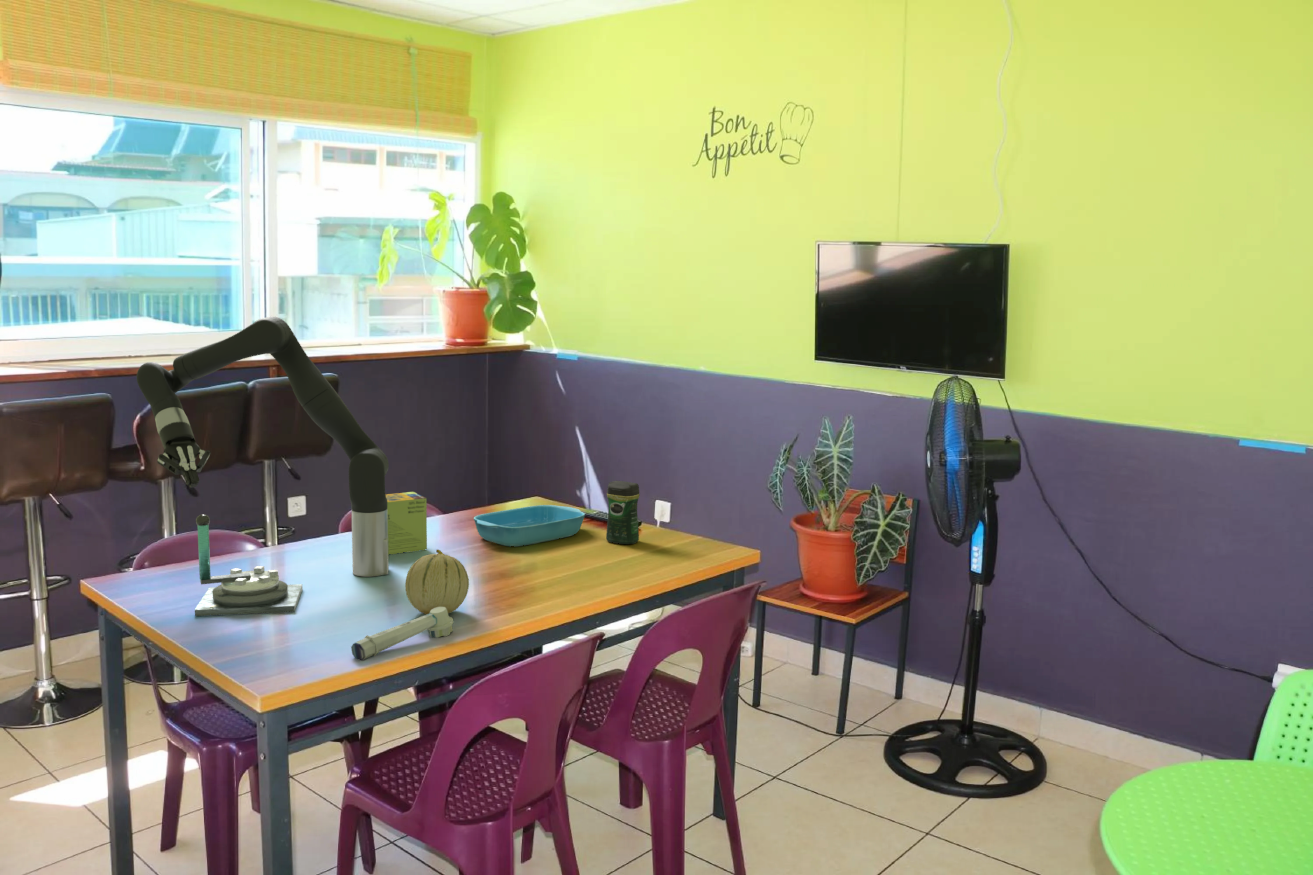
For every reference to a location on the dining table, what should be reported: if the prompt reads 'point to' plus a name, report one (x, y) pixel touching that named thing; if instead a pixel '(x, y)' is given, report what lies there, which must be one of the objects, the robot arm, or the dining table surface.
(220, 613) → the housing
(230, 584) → the crank handle wheel
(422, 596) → the cantaloupe
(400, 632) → the beige piece
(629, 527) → the coffee jar
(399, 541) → the protein box
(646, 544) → the dining table surface
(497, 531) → the casserole dish
